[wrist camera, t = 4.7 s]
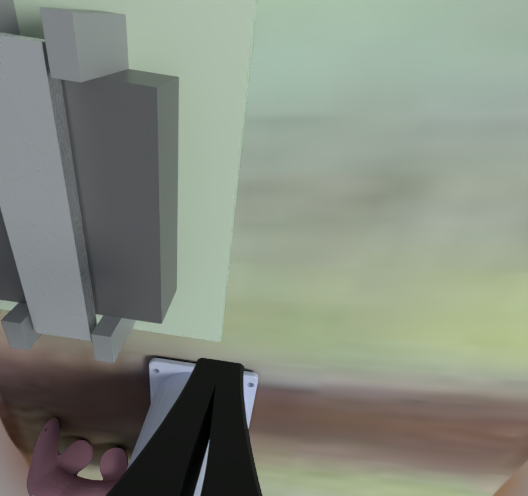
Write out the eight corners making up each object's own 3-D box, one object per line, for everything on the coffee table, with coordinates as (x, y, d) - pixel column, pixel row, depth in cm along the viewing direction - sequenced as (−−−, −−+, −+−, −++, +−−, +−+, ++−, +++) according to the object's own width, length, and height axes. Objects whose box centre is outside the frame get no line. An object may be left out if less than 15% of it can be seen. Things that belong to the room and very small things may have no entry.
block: (98, 330, 20) (91, 340, 19) (43, 322, 20) (35, 332, 19) (55, 41, 13) (41, 41, 12) (-32, 27, 12) (-50, 27, 12)
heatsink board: (222, 335, 25) (207, 399, 21) (-11, 300, 25) (-74, 358, 20) (259, -24, 14) (245, -44, 10) (-150, -92, 14) (-343, -141, 10)
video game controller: (58, 418, 35) (20, 507, 31) (43, 414, 31) (-3, 514, 27) (160, 440, 35) (134, 528, 32) (157, 438, 31) (128, 539, 28)
